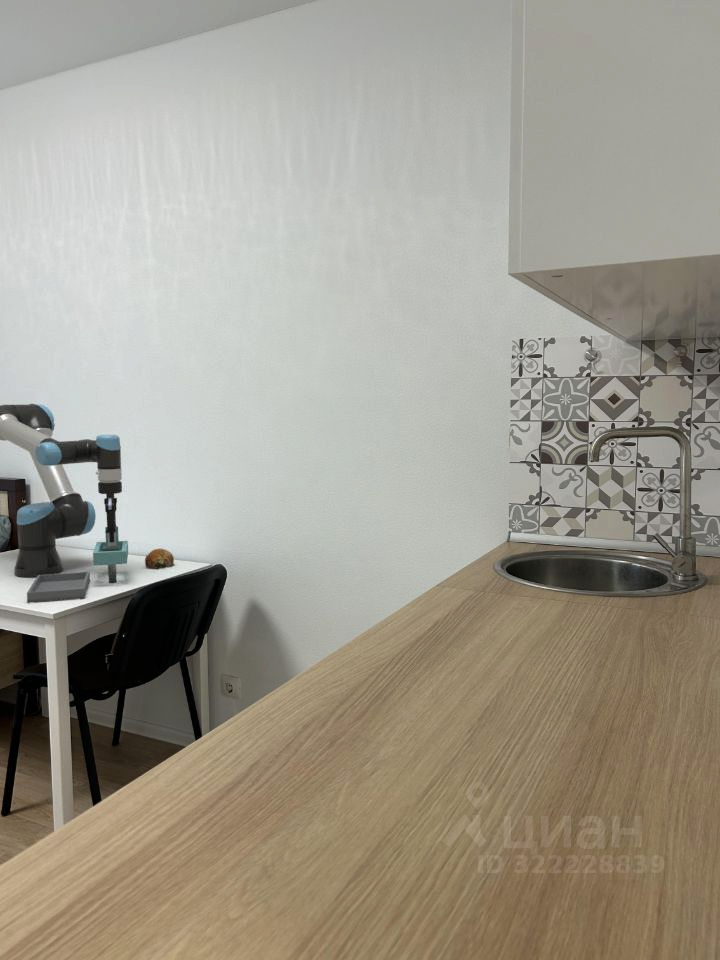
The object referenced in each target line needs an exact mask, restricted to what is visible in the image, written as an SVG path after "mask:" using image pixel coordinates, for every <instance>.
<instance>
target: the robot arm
mask: <svg viewBox="0 0 720 960" xmlns="http://www.w3.org/2000/svg"><path fill="white" fill-rule="evenodd" d="M55 425H56V424H55V417H54V414H53V412H52V411H51V409H49V407H47V406H46V405H43V404H37V403H27V404H1V405H0V441H3V442H4V441H8V442H10V443H12V444H13V445H15V446H17V447H19V448H21V449H22V450H23V449H24V450H25V451H27V452H28V453H29V454H30V456H31V459H32V461H33V464H34V466H35V468H36V471H37V473H38V476H39V478H40V480H41V482H42V485H43V487H44V490H45V491H46V494H47V496H48V498H49V501H44V502H43V501H42V502H35V503H31V504H26V505H23V506H22V507H20V508H19V509H18V510H17V513H16V514H17V515H16V524H17V525H16V526H17V538H18V539H17V540H18V554H17V558H16V562H15V565H14V576H16V577H21V578H37V576H38V575H47V574H60V573H61V572H63V571H64V570H63V563H62V560H61V558H60V555H59V552H58V550H57V546H56V545H57V544H56V543H57V542H56V541H57V540H60V539H63V538H64V539H65V538H71V537H79V536H82V535H86V534H88V533H90V532H91V531H92V530H93V528H94V526H95V523H96V510H95V507H94V505H93V503H92V502H90V501H88V500H83V498H82V497H83V496H81V494H80V493H79V492H76V491H74V490H75V489H74V488H73V486H72V484H71V481H70V479H69V477H68V475H67V472H66V470H65V468H64V466H63V465H71V464H72V465H73V464H83V463H85V464H86V463H96V464H97V465H96V467H97V471H96V472H95V475H97V481H99V482H98V483H97V487H98V488H97V489H98V494H100V495H106V496H105V497H106V498H104V499H103V503H104V510H105V513H106V527H107V531H104V532H105V533H104V534H106V533H107V535H108V546H117V545H116V529H115V527H117V521H116V520H117V519H116V518H117V517H116V515H117V514H116V512H117V502H118V498H117V497H115V494H121V493H122V492H123V485H122V484H123V483H122V455H121V451H122V450H121V448H122V447H121V441H120V439H121V438H120V436H119V435H118V434H98V435H97V436H96V438H95V440H94V439H88V438H87V439H78V440H64V441H63V440H61V441H60V440H56V439H54V438H52V436H53V432H54V430H55Z"/></svg>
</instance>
